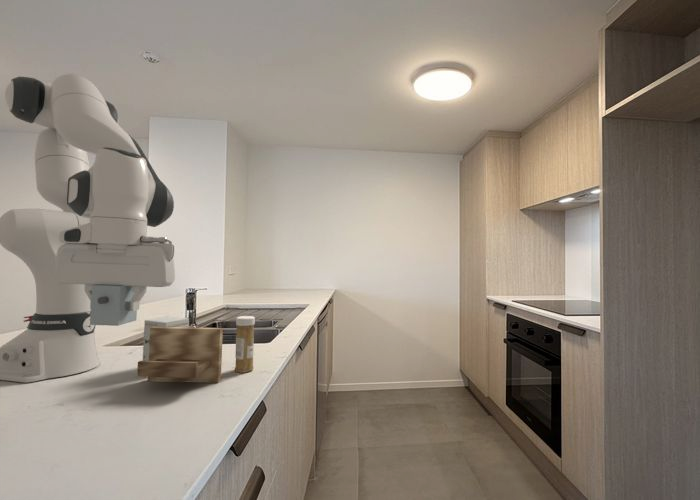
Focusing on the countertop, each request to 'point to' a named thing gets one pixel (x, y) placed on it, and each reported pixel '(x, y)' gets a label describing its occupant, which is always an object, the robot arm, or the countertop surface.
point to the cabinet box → (111, 305)
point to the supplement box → (160, 322)
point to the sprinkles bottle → (244, 343)
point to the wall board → (183, 355)
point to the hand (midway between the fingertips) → (114, 309)
